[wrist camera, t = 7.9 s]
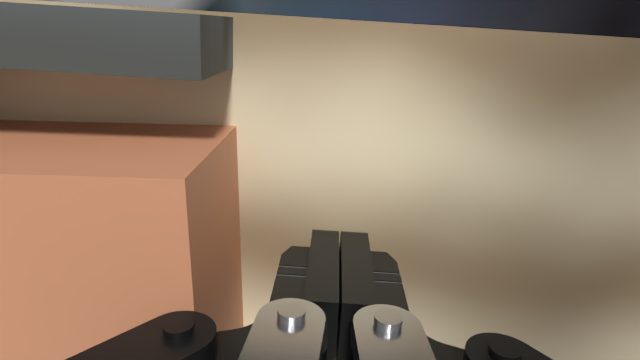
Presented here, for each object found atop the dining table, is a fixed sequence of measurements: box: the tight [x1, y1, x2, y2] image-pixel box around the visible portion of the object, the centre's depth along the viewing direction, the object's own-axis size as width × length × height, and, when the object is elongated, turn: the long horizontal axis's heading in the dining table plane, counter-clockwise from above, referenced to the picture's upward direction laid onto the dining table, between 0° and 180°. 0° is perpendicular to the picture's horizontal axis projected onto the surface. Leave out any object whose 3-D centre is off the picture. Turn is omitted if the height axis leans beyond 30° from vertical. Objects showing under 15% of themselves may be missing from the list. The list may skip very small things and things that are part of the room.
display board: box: [0, 0, 640, 360], centre depth 13 cm, size 12×28×5 cm, turn 87°
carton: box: [0, 120, 243, 360], centre depth 11 cm, size 7×7×4 cm
